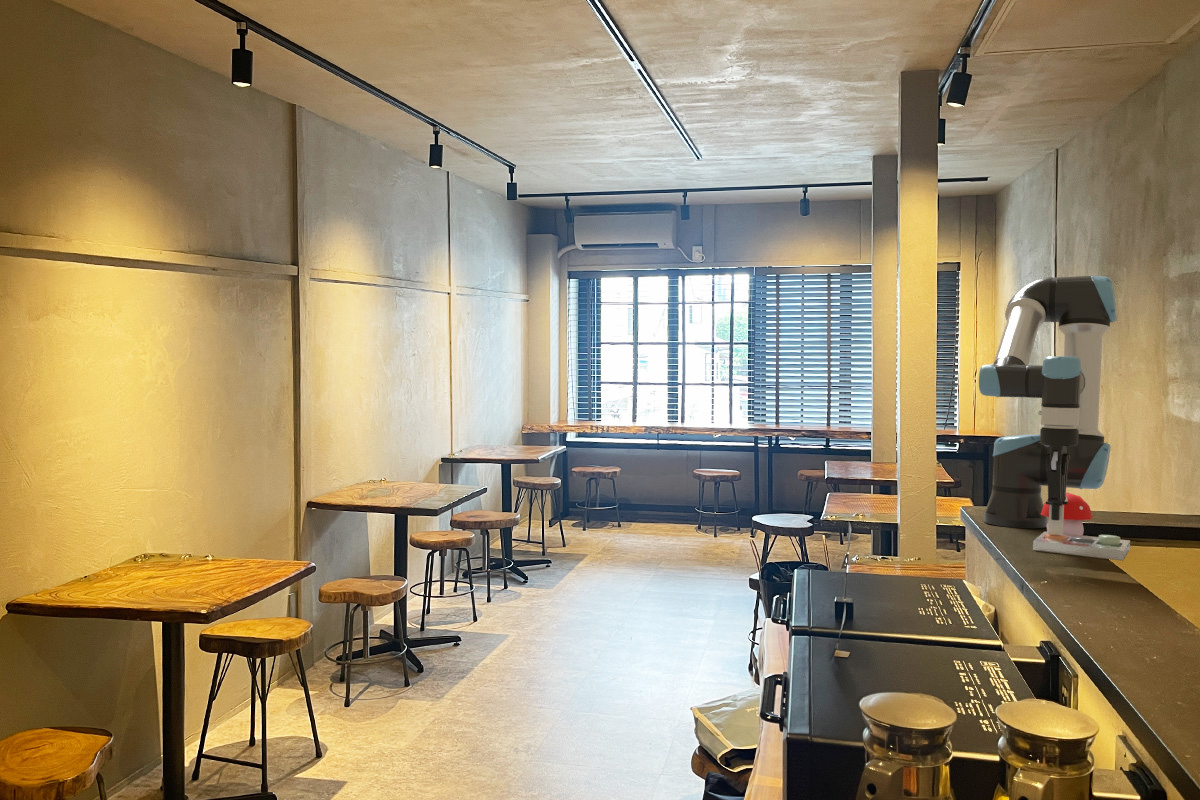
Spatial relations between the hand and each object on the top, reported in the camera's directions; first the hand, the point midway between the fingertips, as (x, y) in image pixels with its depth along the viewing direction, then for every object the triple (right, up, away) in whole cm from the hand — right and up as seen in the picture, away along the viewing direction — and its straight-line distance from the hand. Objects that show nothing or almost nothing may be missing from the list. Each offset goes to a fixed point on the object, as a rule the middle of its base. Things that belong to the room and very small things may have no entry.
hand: (1055, 534), depth 204 cm
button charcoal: (+4, -3, -3) cm, 6 cm away
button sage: (+9, -2, -6) cm, 11 cm away
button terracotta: (0, -2, 0) cm, 2 cm away
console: (+4, -4, -3) cm, 7 cm away
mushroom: (+8, -4, +12) cm, 15 cm away
